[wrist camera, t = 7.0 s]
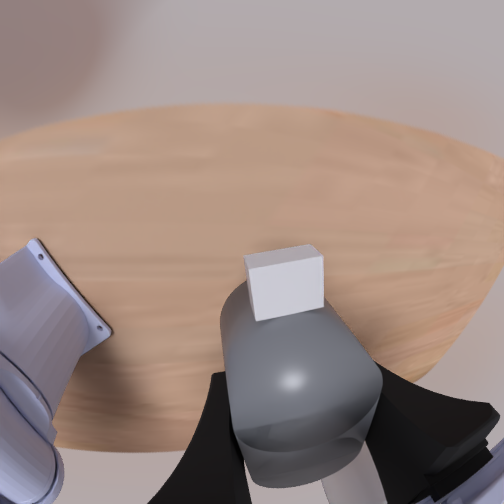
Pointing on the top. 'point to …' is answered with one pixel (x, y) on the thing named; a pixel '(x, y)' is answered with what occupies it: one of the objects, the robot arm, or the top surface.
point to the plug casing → (294, 372)
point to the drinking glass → (355, 482)
